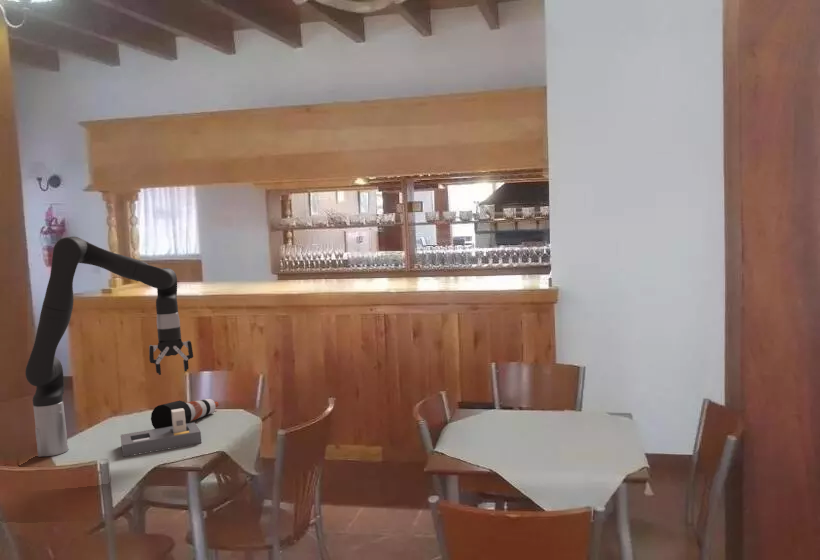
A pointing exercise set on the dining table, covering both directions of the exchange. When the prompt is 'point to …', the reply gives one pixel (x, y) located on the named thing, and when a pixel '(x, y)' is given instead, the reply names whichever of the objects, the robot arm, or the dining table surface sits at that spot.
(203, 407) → the black white red bottle
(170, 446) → the panel
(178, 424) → the plug
